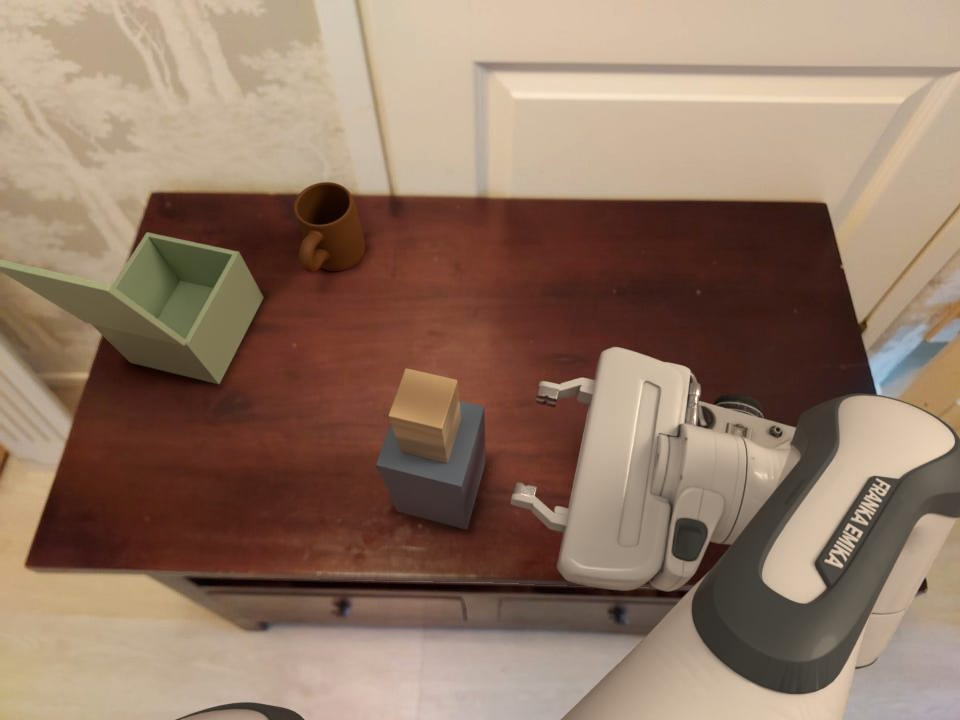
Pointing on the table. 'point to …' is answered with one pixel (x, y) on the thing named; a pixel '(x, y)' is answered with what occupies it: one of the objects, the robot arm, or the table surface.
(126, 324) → the box lid
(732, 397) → the camera
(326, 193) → the mug
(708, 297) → the table surface
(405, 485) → the block
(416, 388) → the block
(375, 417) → the table surface
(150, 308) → the box
